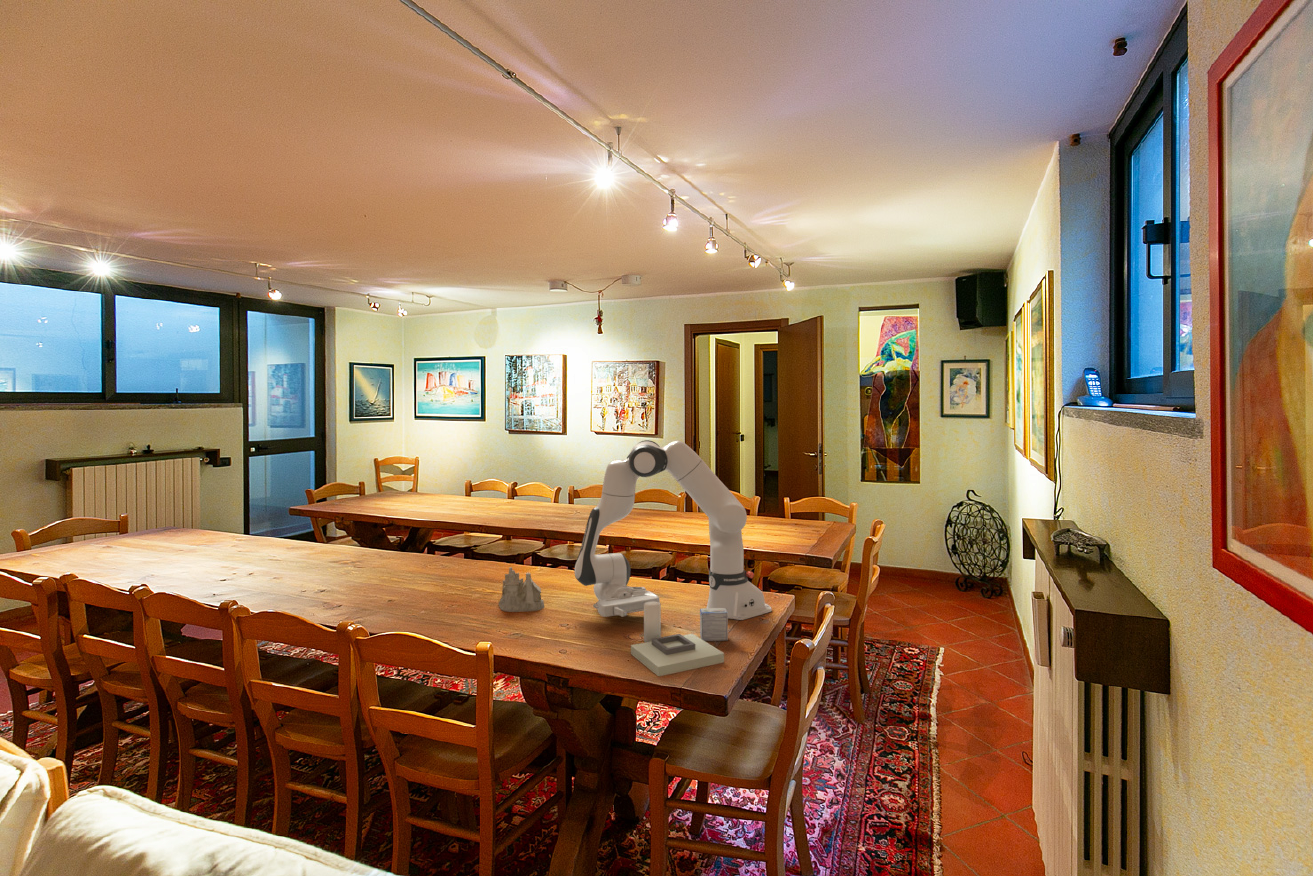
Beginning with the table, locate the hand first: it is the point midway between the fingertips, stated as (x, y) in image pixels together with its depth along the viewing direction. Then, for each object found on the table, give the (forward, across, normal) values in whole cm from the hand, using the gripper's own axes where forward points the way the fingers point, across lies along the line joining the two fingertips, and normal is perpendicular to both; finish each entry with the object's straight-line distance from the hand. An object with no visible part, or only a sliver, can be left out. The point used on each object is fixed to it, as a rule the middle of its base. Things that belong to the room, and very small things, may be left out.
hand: (638, 611), depth 200 cm
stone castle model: (-42, -25, +6) cm, 50 cm away
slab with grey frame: (+25, 0, +6) cm, 25 cm away
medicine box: (+17, +17, +6) cm, 25 cm away
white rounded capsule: (+10, 0, +6) cm, 11 cm away
